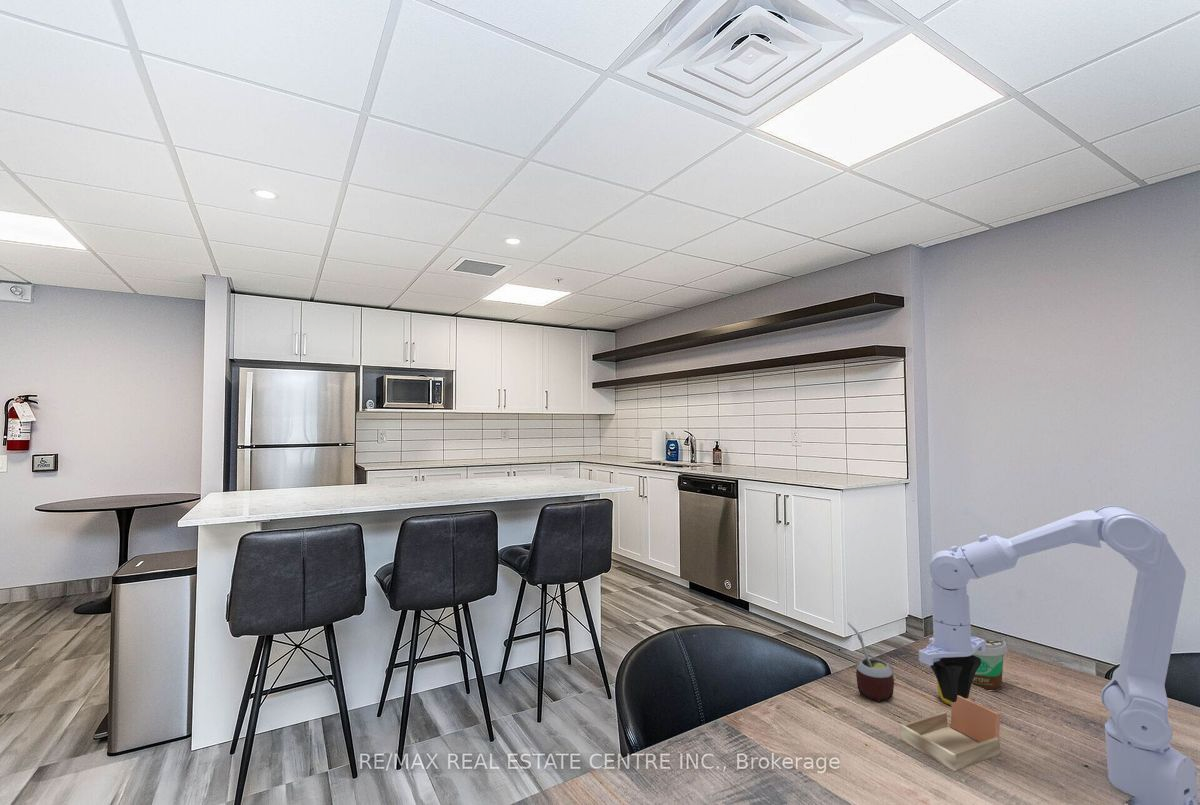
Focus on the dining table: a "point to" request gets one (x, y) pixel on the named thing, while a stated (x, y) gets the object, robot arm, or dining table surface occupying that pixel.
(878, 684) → the mate gourd
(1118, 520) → the robot arm
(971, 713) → the panel
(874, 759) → the dining table surface
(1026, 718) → the dining table surface
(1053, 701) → the dining table surface
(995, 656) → the food container
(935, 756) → the cream shallow tray
